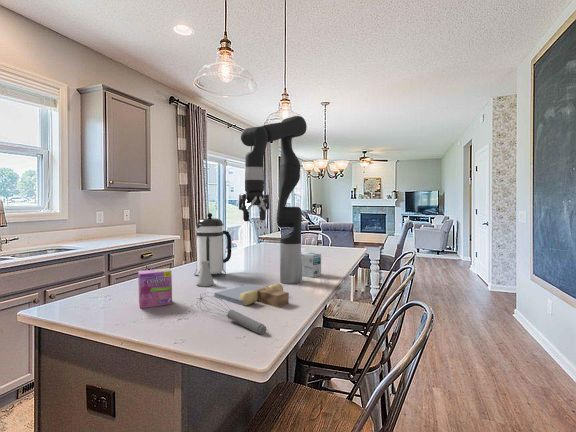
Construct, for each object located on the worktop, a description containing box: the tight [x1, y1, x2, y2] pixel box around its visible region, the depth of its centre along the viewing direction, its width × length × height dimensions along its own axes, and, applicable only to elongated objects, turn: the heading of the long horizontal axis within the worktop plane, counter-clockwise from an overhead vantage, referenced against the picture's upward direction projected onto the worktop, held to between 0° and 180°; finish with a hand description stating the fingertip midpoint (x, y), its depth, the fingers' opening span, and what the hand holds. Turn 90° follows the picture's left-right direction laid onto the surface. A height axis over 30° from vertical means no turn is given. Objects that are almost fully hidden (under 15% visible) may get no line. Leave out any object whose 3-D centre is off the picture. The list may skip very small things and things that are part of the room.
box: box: [137, 267, 173, 309], centre depth 118 cm, size 10×6×12 cm, turn 117°
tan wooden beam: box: [254, 286, 290, 308], centre depth 121 cm, size 12×6×4 cm, turn 50°
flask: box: [195, 261, 215, 287], centre depth 146 cm, size 7×7×10 cm
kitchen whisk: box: [196, 291, 270, 336], centre depth 102 cm, size 6×34×6 cm, turn 46°
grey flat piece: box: [213, 282, 284, 306], centre depth 128 cm, size 18×18×4 cm
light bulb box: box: [301, 251, 322, 278], centre depth 165 cm, size 11×7×11 cm, turn 49°
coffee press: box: [194, 212, 232, 277], centre depth 165 cm, size 17×16×30 cm
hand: (254, 220), depth 134 cm, fingers open, 8 cm apart
